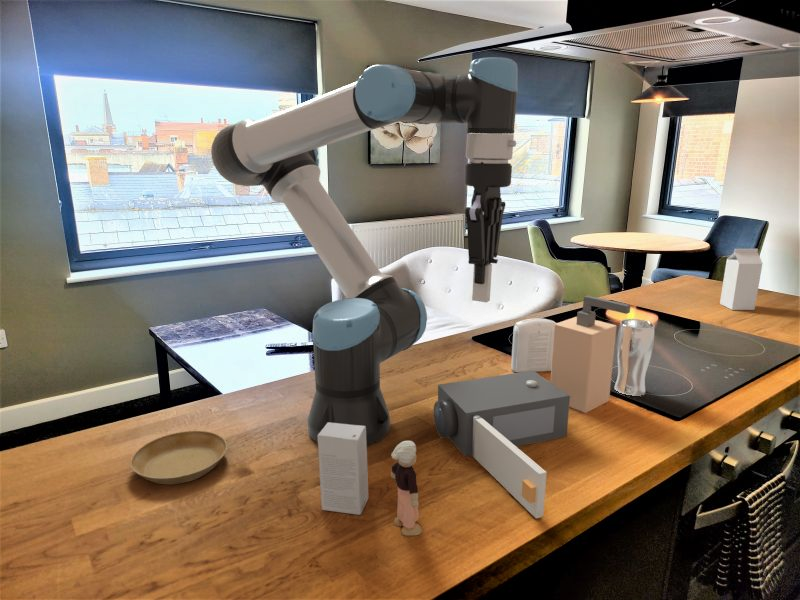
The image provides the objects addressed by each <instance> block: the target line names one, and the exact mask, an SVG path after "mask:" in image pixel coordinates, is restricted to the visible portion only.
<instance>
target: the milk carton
mask: <svg viewBox="0 0 800 600" xmlns="http://www.w3.org/2000/svg"><path fill="white" fill-rule="evenodd" d="M762 270H763V261H762V258H761V257H760V255H759V249H758V248H734V251H733V253H732V254H731V255H729V256H728V257H727V258H726V263H725V268H724V273H723V282H722V288H721V293H720V300H719V304H720V305H722V306H724V307H725V308H728V309H729V310H731V311H755V309H756V303H757V298H758V292H759V285H760V281H761V274H762Z"/></svg>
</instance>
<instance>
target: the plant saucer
mask: <svg viewBox="0 0 800 600" xmlns="http://www.w3.org/2000/svg"><path fill="white" fill-rule="evenodd" d="M227 449H228V442H227V440H226V439H225V438H224V437H223V436H221V435H220V434H218V433H215V432H212V431H206V430H185V431H179V432H173V433H170V434H166V435H163V436H160V437H158V438H155V439H152V440H151V441H149V442H147V443H145V444H144V445H142V446H141V447H139V448H138V449H137V451H135V452H134V453H133V455H132V456H131V458H130V467H131V469H132V470H133V472H135V473H136V474H137V475H138V476H139V477H141V478H144V479H145V480H147V481H150V482H152V483H155V484H160V485H179V484H185V483H188V482H190V481H194V480H197V479H199V478H201V477H203V476H205V475H206V474H207V473H210V472H211V471H212V470H213V469H214V468H215V467H216V466H217V465H218V464H219V463H220V462H221V460H222V459H223V457H224V456H225V454H226V452H227Z"/></svg>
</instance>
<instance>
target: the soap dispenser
mask: <svg viewBox="0 0 800 600" xmlns="http://www.w3.org/2000/svg"><path fill="white" fill-rule="evenodd" d="M592 307H597V308H600V309H604V310H608V311H609V310H610V311H613V312H617V313H621V314H626V315H627V314H630V313H631V304H627V303H623V302H618V301H614V300H610V299H606V298H600V297H596V296H591V295H585V296H583V301H582V310H580V311H577V315H576V316H574V317H572V318H568V319H565V320H563V321H560V322H555V323H556V324H555V326H554V340H553V354H552V368H551V371H550V382H551V383H552V384H554V385H555V386H557V387H558V388H560V389H561V390H562V391H564V392H565V393H567V394H568V395H570V402H569V408H571V409H574V410H576V411H579V412H581V413H584V414H586V413H589V412H590V411H592V410H594V409H597V408H598V407H600V406H602V405H604V404H605V403H608V402H609V400H610V395H611V385H612V384H611V383H612V374H613V363H614V355H615V354H614V353H615V348H616V346H615V345H616V336H617V334H616V333H617V325H616V324H612V323H609V322H604V321H602V320H596V312H595V311H592Z"/></svg>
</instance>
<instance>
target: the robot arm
mask: <svg viewBox="0 0 800 600" xmlns="http://www.w3.org/2000/svg"><path fill="white" fill-rule="evenodd" d="M518 68H519V67H518V63H516V60H515V61H514V60H513V59H512V58H508V57H494V56H493V57H481V58H476V59H473V60H472V61H471V62H470V66H469V70H468V73H464V74H452V75H451V74H448V75H446V74H445V75H439V74H434V73H433V74H432V73H428V72H423V71H417V70H413V69H408V68H404V67H400V66H398V65H396V64H389V63H388V64H374V65H372V66H368V67H367V68H366V69H364V71H363V72H362V74H361V75H360V76H359V78H358V79H357V80H356V81H355V82H352V83H350V84H348V85H345V86H341V87H340V88H337V89H334V90H332V91H329V92H327V93H324V94H323V95H319V96H317V97H314V98H312V99H310V100H307V101H305V102H302V103H299V104H297V105H293V106H291V107H290V108H286V109H284V110H281V111H279V112H277V113H274V114H272V115H269V116H267V117H264V118H262V119H259V120H255V119H251V118H248V119H243V120H239V121H237V122H235V123H232V124H230V125H228V126H225V127H223V128H222V129H221V130H219V132H218V133H217V134H216V136H215V137H214V139H213V142H212V144H211V151H210V152H211V160H212V163H213V166H214V168H215V169H216V171H217V172H218V174H219V175H220V176H221V177H223V178H224V180H226V181H228V182H229V183H231V184H234V185H237V186H243V187H256V186H258V187H259V186H263V188H264V189H265V190H266V192H267V193H268V195H269V196H270V197H271V200H273V201H274V202H276V203H280V204H281V203H282V204H284V205H285V207H286V209H287V210H288V211H289V213H290V215H291V216H292V218H293V220H294V221H295V223H296V224H297V225H298V227H299V228H300V229H301V232H302V233H303V234H304V236H305V237H306V239H307V240H308V242H309V243H310V245H311V246H312V249H314V251H315V252H316V254H317V256H318V258H320V260H321V262H322V263H323V265H324V266H325V267H326V270H327V271H328V272H329V274H330V275H331V277H332V278H333V280H334V281H335V283H336V284H337V286H338V288H339V289H340V290H341V292H342V293H343V295H344V297H345V298H344V299H336V300H333V301H330V302H328V303H326V304H323V306H321V307H319V308H318V310H316V312H315V314H314V315H313V319H312V332H311V340H312V348H313V361H314V362H313V363H314V364H313V365H314V381H315V392H314V397H313V398H312V399H313V400H312V403H311V407H310V409H309V414H308V416H307V432H308V436H309V437H310V438H311V439H312V440H313V441H314V442H316V443H318V439H317V435H318V434H319V433H320V432H321V430H322V429H323V428H324V427H325V425H326V424H327V423H328V422H330V423H339V424H349V425H360V426H366V444H367V446H369V445H372V444H374V443H377V442H379V441H380V440H382V439H383V438H385V437H386V436H387V434H388V433H389V432H390V429H391V416H390V415H391V414H390V412H389V409H388V407H387V406H388V405H387V403H386V401H385V397H384V395H383V393H382V389H381V380H380V379H381V374H380V373H381V372H380V371H381V367H380V366H381V363H383V362H385V361H386V360H389V359H390V358H392V357H393V356H395V355H397V354H399V353H401V352H403V351H404V352H405V351H406V350H408V349H409V348H411V347H412V346H413V345H414V344H415V343H417V342H418V341H419V340H421V338H422V337H423V336H424V333H425V332H426V329H427V322H428V313H427V309H426V306H425V303H424V302H423V299H422V298H421V297H420V295H418V293H416V292H415V291H413V290H410V289H407V288H403V287H402V288H401V287H400V285H399V283H398V282H397V281H396V279H395V277H394V276H393V275H390V274H385V273H382V272H381V270H379V267H378V266H377V264H376V263H375V262H374V260H373V258H372V257H371V255H370V254H369V253H368V251H367V250H366V249H365V247H364V245H363V244H362V243H361V241H360V239H359V238H358V237H357V235H356V234H355V232H354V230H353V229H352V227H351V226H350V224H349V223H348V222H347V220H346V219H345V218H344V217H345V216H344V215H342V213H341V211H340V210H339V208H338V206H337V205H336V204H335V203H334V200H332V198H331V197H330V194H329V193H328V191H326V189H325V188H324V186H323V185H322V183H321V181H320V176H321V168H320V167H319V163H320V162H319V161H320V160H319V158H318V155H319V151H318V148H321V147H325V146H327V145H331V144H334V143H336V142H340V141H343V140H346V139H348V138H352V137H354V136H357V135H361V134H364V133H366V132H369V131H370V132H371V131H372V130H375V129H379V128H382V127H386V126H389V125H392V124H394V123H400V122H406V123H411V124H419V125H431V124H466V125H467V129H466V132H467V133H466V147H465V158H466V160H468V162H467V163H466V164H465V169H464V170H465V172H464V184H465V185H466V186H469V187H473V194H472V198H471V203H470V204H471V205H470V206H469V207H468V206H467V207H465V209H464V210H465V211H464V213H465V218H466V227H467V247H468V249H467V251H468V264H469V265H473V276H472V277H473V278H472V281H473V282H472V293H471V294H472V297H471V298H472V299H471V300H472V301H475V302H479V303H480V302H481V303H486V304H487V303H488V302H489V301H490V299H491V286H492V269H493V268H492V267H493V264H496V265H497V264H498V261H499V259H496V258H498V251H499V244H500V236H501V229H502V223H503V216H504V212H505V209H506V202H505V201H503V200H502V197H501V196H502V195H501V188H508V187H509V186H510V185H511V184H512V175H513V174H512V172H513V171H512V170H513V165H511V163H509V161H510V160H512V159H513V152H514V148H515V147H516V146H517V142H516V140H514V136H515V135H514V134H515V125H516V124H515V123H516V114H517V113H516V111H517V100H518V94H519V93H518V92H519V88H518V82H519V81H518V79H519V78H518V74H519V73H518V71H519V69H518Z"/></svg>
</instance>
